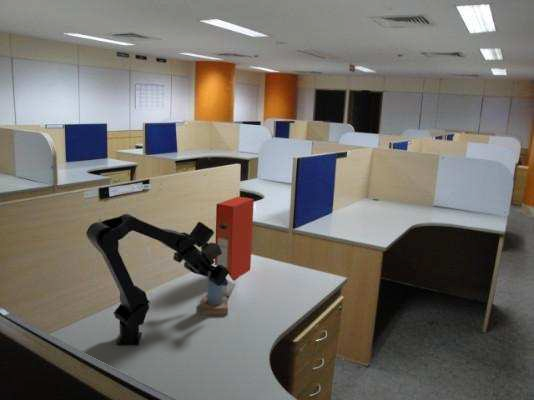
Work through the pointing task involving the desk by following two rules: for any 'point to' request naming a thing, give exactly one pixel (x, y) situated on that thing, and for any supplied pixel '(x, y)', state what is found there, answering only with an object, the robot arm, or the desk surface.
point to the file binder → (234, 235)
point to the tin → (214, 293)
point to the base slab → (214, 308)
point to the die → (228, 287)
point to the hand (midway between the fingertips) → (218, 280)
